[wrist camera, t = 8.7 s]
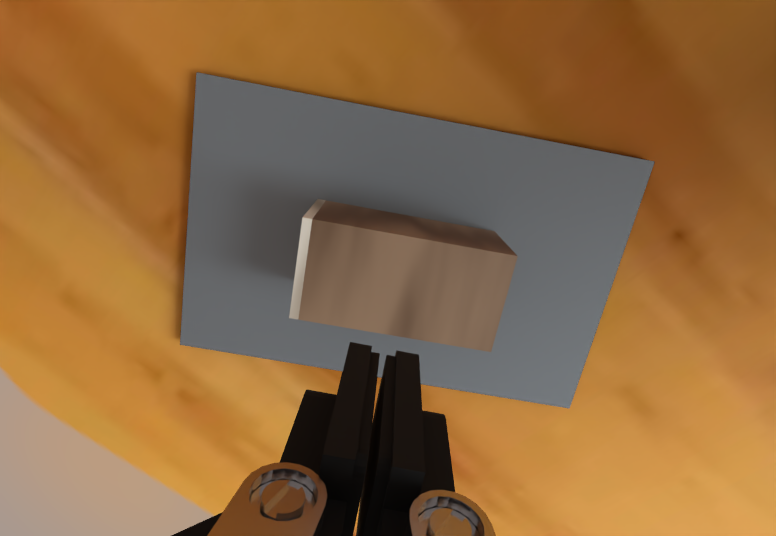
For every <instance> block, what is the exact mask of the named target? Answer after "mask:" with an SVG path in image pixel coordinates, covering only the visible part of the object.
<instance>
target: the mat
mask: <svg viewBox="0 0 776 536" xmlns="http://www.w3.org/2000/svg"><path fill="white" fill-rule="evenodd" d="M653 165H654V161H649V160H644V159H639V158H633V157H628V156H623V155H618V154H613V153H608V152H603V151H598V150H592V149H587V148H582V147H577V146H572V145H567V144H562V143H557V142H551V141H546V140H541V139H536V138H531V137H526V136H521V135H516V134H510V133H505V132H500V131H495V130H490V129H485V128H480V127H475V126H469V125H464V124H459V123H454V122H449V121H444V120H439V119H434V118H428V117H423V116H418V115H413V114H408V113H403V112H398V111H392V110H387V109H382V108H377V107H372V106H367V105H362V104H357V103H351V102H346V101H341V100H336V99H331V98H326V97H321V96H316V95H310V94H305V93H300V92H295V91H290V90H285V89H280V88H275V87H269V86H264V85H259V84H254V83H249V82H244V81H239V80H234V79H228V78H223V77H218V76H213V75H208V74H203V73H198V72H197V74H196V90H195V107H194V123H193V140H192V156H191V173H190V189H189V206H188V222H187V239H186V256H185V272H184V289H183V305H182V322H181V338H180V345H185V346H191V347H197V348H203V349H210V350H216V351H222V352H228V353H234V354H240V355H246V356H252V357H259V358H265V359H271V360H277V361H283V362H289V363H295V364H301V365H307V366H314V367H320V368H326V369H332V370H338V371H343V368H344V364H345V360H346V356H347V352H348V348H349V344H350V342H354V343H359V344H364V345H370V346H372V350H371V352H375V353H380V357H379V366H378V375H377V377H381V378H382V374H383V369H384V364H385V360H386V356H387V355H391V356H395V353H396V350H397V351H403V352H408V353H413V354H419V362H420V381H421V384H424V385H430V386H436V387H442V388H448V389H454V390H460V391H466V392H473V393H479V394H485V395H491V396H497V397H503V398H509V399H515V400H521V401H528V402H534V403H540V404H546V405H552V406H558V407H564V408H570V405H571V402H572V399H573V397H574V394H575V391H576V388H577V385H578V382H579V379H580V376H581V373H582V371H583V368H584V365H585V362H586V359H587V356H588V353H589V350H590V347H591V345H592V342H593V339H594V336H595V333H596V330H597V327H598V324H599V321H600V318H601V316H602V313H603V310H604V307H605V304H606V301H607V298H608V295H609V292H610V290H611V287H612V284H613V281H614V278H615V275H616V272H617V269H618V266H619V264H620V261H621V258H622V255H623V252H624V249H625V246H626V243H627V240H628V238H629V235H630V232H631V229H632V226H633V223H634V220H635V217H636V214H637V212H638V209H639V206H640V203H641V200H642V197H643V194H644V191H645V188H646V185H647V183H648V180H649V177H650V174H651V171H652V168H653ZM317 199H321V200H327V201H332V202H338V203H343V204H348V205H354V206H359V207H365V208H370V209H376V210H381V211H387V212H392V213H398V214H403V215H409V216H414V217H419V218H425V219H430V220H436V221H441V222H447V223H452V224H458V225H463V226H469V227H474V228H480V229H485V230H490V231H495V232H496V233H497V234H498V235H499V236H500V237H501V239H502V240H503V241H504V242H505V243H506V244H507V245H508V246H509V247H510V248H511V249H512V250H513V252H514V253H515V254H516V255H517V256H518V257H517V261H516V264H515V268H514V272H513V275H512V279H511V282H510V286H509V290H508V293H507V297H506V300H505V304H504V308H503V311H502V315H501V318H500V322H499V326H498V329H497V333H496V336H495V340H494V344H493V347H492V351H491V352H487V351H481V350H475V349H470V348H464V347H458V346H452V345H446V344H440V343H434V342H428V341H422V340H416V339H410V338H404V337H398V336H392V335H387V334H381V333H375V332H369V331H363V330H357V329H351V328H345V327H339V326H333V325H327V324H321V323H315V322H309V321H304V320H298V319H292V318H289V315H290V307H291V300H292V292H293V285H294V277H295V270H296V262H297V255H298V247H299V240H300V232H301V225H302V217H303V216H304V215H305V214H306V213H307V211H308V210H309V209H310V208H311V207H312V205H313V204H314V203H315V202H316V201H317Z"/></svg>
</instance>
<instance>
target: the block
mask: <svg viewBox="0 0 776 536" xmlns="http://www.w3.org/2000/svg"><path fill="white" fill-rule="evenodd" d="M517 257H518V256H517V255H516V254H515V253H514V252H513V250H512V249H511V248H510V247H509V246H508V245H507V244H506V243H505V242H504V241H503V240H502V239H501V237H500V236H499V235H498V234H497V233H496V232H495V231H490V230H485V229H480V228H474V227H469V226H463V225H458V224H452V223H447V222H441V221H436V220H430V219H425V218H419V217H414V216H409V215H403V214H398V213H392V212H387V211H381V210H376V209H370V208H365V207H359V206H354V205H348V204H343V203H338V202H332V201H327V200H321V199H317V201H316V202H315V203H314V204H313V205H312V207H311V208H310V209H309V210H308V211H307V213H306V214H305V215H304V216H303V217H302V225H301V232H300V240H299V247H298V255H297V262H296V270H295V277H294V285H293V292H292V300H291V307H290V315H289V318H292V319H298V320H304V321H309V322H315V323H321V324H327V325H333V326H339V327H345V328H351V329H357V330H363V331H369V332H375V333H381V334H387V335H392V336H398V337H404V338H410V339H416V340H422V341H428V342H434V343H440V344H446V345H452V346H458V347H464V348H470V349H475V350H481V351H487V352H491V351H492V347H493V344H494V340H495V336H496V333H497V329H498V326H499V322H500V318H501V315H502V311H503V308H504V304H505V300H506V297H507V293H508V290H509V286H510V282H511V279H512V275H513V272H514V268H515V264H516V261H517Z"/></svg>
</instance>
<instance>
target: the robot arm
mask: <svg viewBox="0 0 776 536" xmlns="http://www.w3.org/2000/svg"><path fill="white" fill-rule="evenodd" d="M371 350H372V346H370V345H364V344H359V343H354V342H350V344H349V348H348V352H347V356H346V360H345V364H344V368H343V372H342V376H341V380H340V384H339V388H338V392H337V395H334V394H328V393H323V392H317V391H312V390H306V392H305V394H304V397H303V399H302V402H301V405H300V408H299V410H298V413H297V416H296V419H295V421H294V424H293V427H292V430H291V432H290V435H289V438H288V441H287V444H286V446H285V449H284V452H283V455H282V457H281V460H280V463H273V464H269V465H266V466H262V467H260V468H259V469H257V470H255V471H254V472H252V473H251V474H250V475H249V476H248V477H247V478H246V479H245V480H244V481H243V483H242V484H241V486H240V487H239V489H238V490H237V492H236V493H235V495H234V496H233V498H232V499H231V501H230V502H229V504H228V505H227V507H226V508H225V510H224V511H223V512H222V513H220V514H218V515H216V516H213V517H211V518H209V519H207V520H205V521H203V522H200V523H198V524H196V525H194V526H192V527H189V528H187V529H185V530H183V531H181V532H178V533H176V534H174V535H172V536H353V532H354V527H355V522H356V517H357V512H358V508H359V503H360V508H359V516H358V525H357V533H356V536H496V535H495V532H494V529H493V527H492V524H491V522H490V521H489V519H488V517H487V515H486V514H485V512H484V511H483V510H482V509H481V508H480V507H479V506H478V505H477V504H476V503H474V502H473V501H471V500H470V499H468V498H467V497H465V496H463V495H460V494H458V493H456V492H455V487H454V480H453V472H452V464H451V456H450V448H449V441H448V433H447V425H446V418H445V415H444V414H439V413H433V412H428V411H422V400H421V381H420V362H419V354H413V353H408V352H403V351H397V350H396V353H395V356H391V355H387V356H386V360H385V364H384V369H383V374H382V379H381V384H380V389H379V394H378V398H377V403H376V408H375V413H374V418H373V411H374V402H375V393H376V384H377V375H378V366H379V357H380V353H375V352H371ZM372 420H373V423H372ZM360 498H361V499H360Z"/></svg>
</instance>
